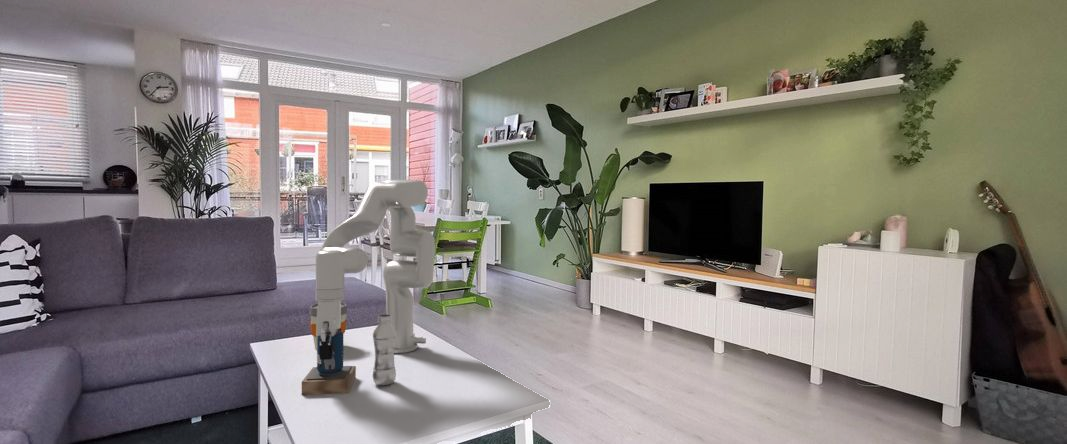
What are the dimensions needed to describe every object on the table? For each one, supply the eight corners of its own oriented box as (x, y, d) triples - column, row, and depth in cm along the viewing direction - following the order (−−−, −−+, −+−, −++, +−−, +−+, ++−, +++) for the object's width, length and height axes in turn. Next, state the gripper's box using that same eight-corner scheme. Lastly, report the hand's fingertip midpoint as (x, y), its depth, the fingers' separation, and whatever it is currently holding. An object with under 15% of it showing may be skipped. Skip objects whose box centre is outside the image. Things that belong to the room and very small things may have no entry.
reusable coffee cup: (334, 340, 192) (334, 300, 192) (354, 346, 185) (354, 305, 184) (302, 347, 182) (302, 305, 181) (322, 354, 175) (322, 311, 174)
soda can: (335, 366, 151) (335, 325, 151) (347, 371, 147) (348, 330, 146) (312, 371, 146) (312, 330, 145) (324, 377, 142) (325, 334, 141)
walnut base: (355, 377, 153) (355, 364, 153) (347, 393, 142) (347, 378, 141) (313, 379, 152) (313, 365, 151) (301, 394, 140) (301, 380, 140)
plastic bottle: (400, 381, 151) (401, 314, 150) (386, 389, 145) (387, 319, 144) (381, 378, 153) (382, 312, 152) (367, 386, 147) (368, 317, 146)
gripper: (323, 288, 153) (323, 345, 154) (307, 300, 136) (307, 364, 137) (349, 288, 154) (349, 344, 155) (337, 300, 137) (337, 363, 138)
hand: (330, 353), depth 146 cm, fingers open, 9 cm apart
